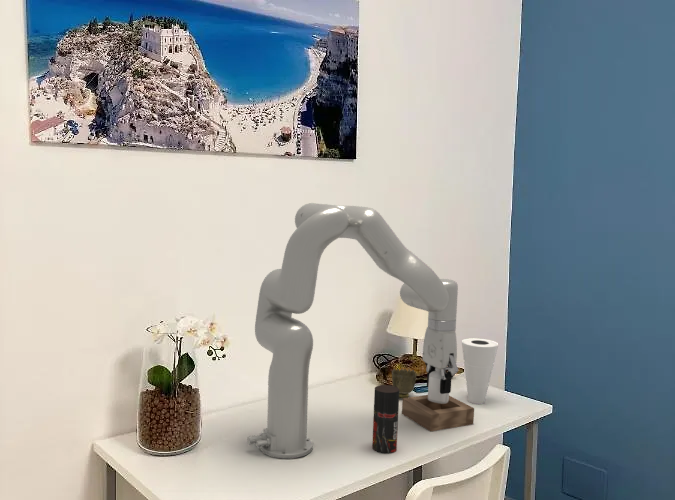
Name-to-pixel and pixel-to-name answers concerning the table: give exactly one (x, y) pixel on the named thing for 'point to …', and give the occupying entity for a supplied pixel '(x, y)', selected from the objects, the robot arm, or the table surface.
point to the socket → (437, 413)
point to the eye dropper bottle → (436, 388)
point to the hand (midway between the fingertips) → (438, 389)
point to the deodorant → (385, 419)
